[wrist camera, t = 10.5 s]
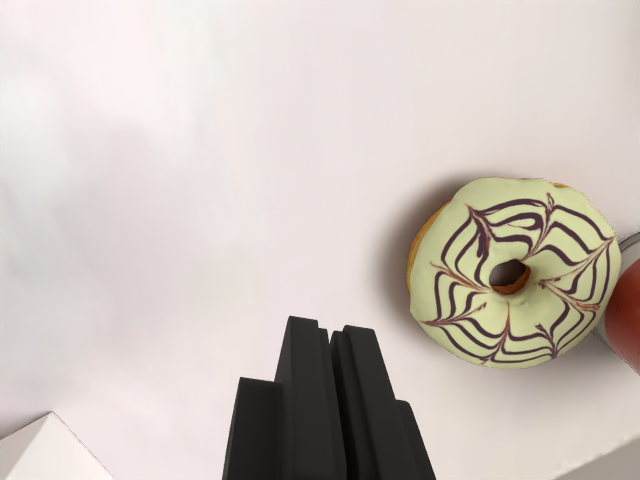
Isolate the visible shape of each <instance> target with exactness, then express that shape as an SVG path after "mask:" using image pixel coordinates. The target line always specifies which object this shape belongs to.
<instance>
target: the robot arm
mask: <svg viewBox="0 0 640 480" xmlns="http://www.w3.org/2000/svg"><path fill="white" fill-rule="evenodd" d="M222 480H436V477H435V474H434V472H433V469H432V466H431V463H430V460H429V457H428V454H427V451H426V448H425V446H424V443H423V440H422V437H421V434H420V431H419V428H418V425H417V422H416V420H415V417H414V414H413V411H412V408H411V406H410V404H409V403H408V402H406V401H403V400H396V399H395V396H394V393H393V389H392V386H391V383H390V380H389V376H388V373H387V370H386V367H385V364H384V360H383V357H382V354H381V351H380V347H379V344H378V341H377V338H376V334H375V332H374V330H373V329H368V328H362V327H356V326H350V325H345V326H344V328H343V331H342V332H341V331H335V330H334V332H333V334H332V337H331V341H330V344H329V339H328V332H327V329H323V328H318V321H317V320H313V319H307V318H301V317H295V316H289V318H288V322H287V326H286V330H285V335H284V339H283V344H282V348H281V353H280V357H279V362H278V366H277V371H276V375H275V380H274V382H272V381H265V380H258V379H251V378H244V377H240V380H239V384H238V389H237V394H236V399H235V405H234V410H233V415H232V420H231V426H230V432H229V437H228V443H227V449H226V456H225V462H224V469H223V476H222Z"/></svg>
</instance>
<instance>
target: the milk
mask: <svg viewBox="0 0 640 480" xmlns="http://www.w3.org/2000/svg"><path fill="white" fill-rule="evenodd" d="M112 479H113V477H112V475H111V474H110V473H109V472H108V471H107V470H106V469H105V468H104V467H103V466H102V464H101V463H100V462H99V461H98V460H97V459H96V458H95V457H94V456H93V455H92V454H91V453H90V451H89V450H88V449H87V448H86V447H85V446H84V445H83V444H82V443H81V442H80V441H79V440H78V439H77V437H76V436H75V435H74V434H73V433H72V432H71V431H70V430H69V429H68V428H67V427H66V426H65V424H64V423H63V422H62V421H61V420H60V419H59V418H58V417H57V416H56V415H55V414H54V413H53V412H51V413H49V414H47V415H45V416H43V417H42V418H40V419H38V420H36V421H34V422H33V423H31V424H29V425H27V426H25V427H23V428H22V429H20V430H18V431H16V432H14V433H13V434H11V435H9V436H7V437H5V438H4V439H2V440H0V480H112Z"/></svg>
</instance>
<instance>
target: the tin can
mask: <svg viewBox="0 0 640 480" xmlns="http://www.w3.org/2000/svg"><path fill="white" fill-rule="evenodd" d="M618 247H619V250H620V253H621V266H620V271H619V276H618V279H617V282H616V285H615V287H614V289H613V292H612V295H611V296H610V299H609V301H608V304H607V306H606V308H605V310H604V312H603V314H602V317H601V319H600V321H599V322H598V324H597V325H596V326H595V327H594V328H593V331H594V333H595V334H596V335H597V336H598V338H599V339H600V340H601V341H602V342H604V343H605V344H606V345H607V346H608V347H610V348H611V349H613V350H614V352H615V353H616V354H617V355H618V356H619V357H620V358H621V359H622V360H623V361H624V362H625V363H627V364H628V365H629V366H630V367H631V368H632V369H633V370H634V371H635V372H636V373H637V374H639V375H640V233H639V234H637V235H635V236H633V237H631V238H629V239H627V240H626V241H624V242H623V243H621V244H620V245H619V246H618Z"/></svg>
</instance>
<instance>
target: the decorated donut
mask: <svg viewBox="0 0 640 480" xmlns="http://www.w3.org/2000/svg"><path fill="white" fill-rule="evenodd" d="M512 259H517V260H518V261H520V262H521V263H523V264H525V266H526V270H525V273H524V274H523V275H521V277H520V278H519V279H518V280H517V281H516V282H514V283H513V284H511V285H509V284H508V286H506V287H505V286H503V287H502V286H491V285H490V283H489V276H490V273H491V271H492V269H493V268H494V267H495V266H496V265H498V264H501V263H504V262H507V261H509V260H512ZM620 266H621V253H620V250H619V247H618V243H617V241H616V236H615V233H614V232H613V230H612V228H611V226H610V224H609V223H608V222H607V221H606V219H605V218H604V217H603V215H602V214H601V213H600V211H598V210H597V209H595V208H594V207H593V206H592V205H591V204H590V203H589V201H588V199H587V198H586V196H585V195H584V194H583V193H581V192H579V191H577V190H575V189H573V188H570V187H568V186H566V185H563V184H559V183H551V182H548V181H547V180H544V179H541V178H540V179H528V178H525V179H524V178H523V179H505V178H499V177H489V178H479V179H476V180H474V181H471V182H470V183H468V184H466V185H465V186H464V187H462V188H461V189H460V190H459V191H458V192H457V193H456V194H455V195H454V197H453V199H451V200H450V201H447V202H446V203H445V204H444V205H443V206H442V207H441V208H440V209H439V210H437V211H436V212H435V213H434V214H433V215H432V217H430V218H429V219H428V221H427V222H426V223H425V224H424V225H423V227H422V228H421V229H420V231H419V232H418V234H417V235H416V237H415V238H414V240H413V242H412V244H411V248H410V251H409V254H408V266H407V286H408V291H409V293H410V297H411V305H410V312H411V314H412V316H413V317H414V318H415V319H416V321H417V322H418V323H419V324H420V325H421V326H422V328H423V329H424V331H425V332H426V333H427V334H428V335H429V337H430V338H432V339H433V340H434V341H435V342H436V343H437V344H439V345H440V346H442V347H444V348H445V349H446V350H447V351H449V352H450V353H452V354H454V355H456V356H457V357H458V358H460V359H463V360H465V361H468V362H470V363H473V364H476V365H480V366H485V367H492V368H499V369H513V368H516V369H524V368H528V367H532V366H536V365H539V364H541V363H543V362H545V361H548V360H550V359H553V358H556V357H558V356H560V355H562V354H563V353H565V352H566V351H568V350H569V349H570V348H572V347H575V346H576V345H578V343H580V342H581V341H582V340H583V339H584V338H585V337H586V336H587V335H588V334H589V333H590V331H591V330H592V329H593V328H594V327H595V326H596V325H597V324H598V322H599V321H600V319H601V317H602V314H603V312H604V310H605V308H606V306H607V304H608V301H609V299H610V296H611V295H612V292H613V289H614V287H615V285H616V282H617V279H618V276H619V271H620Z"/></svg>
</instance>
